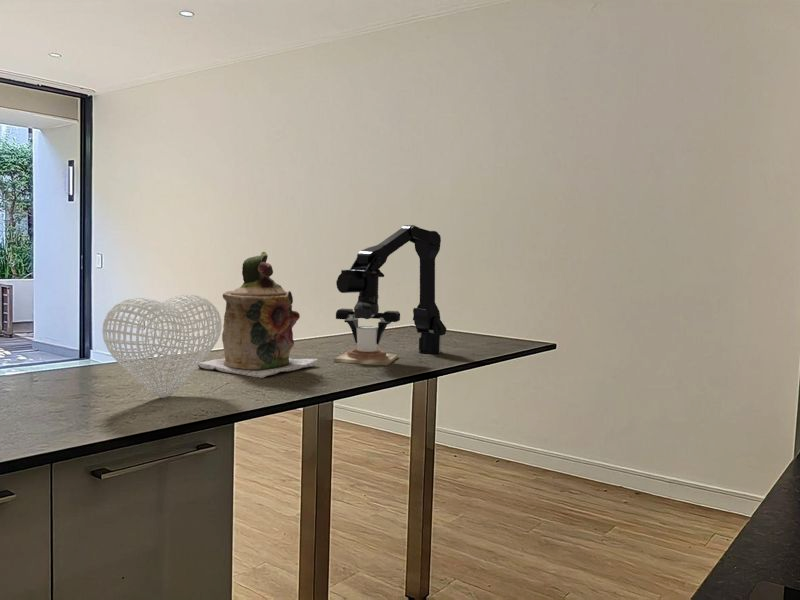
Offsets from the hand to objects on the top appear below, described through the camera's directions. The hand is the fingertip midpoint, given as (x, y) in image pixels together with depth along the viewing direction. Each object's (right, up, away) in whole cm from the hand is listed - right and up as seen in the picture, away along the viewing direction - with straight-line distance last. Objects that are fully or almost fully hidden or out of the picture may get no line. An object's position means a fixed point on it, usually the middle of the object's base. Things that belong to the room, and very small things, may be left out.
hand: (367, 343), depth 215 cm
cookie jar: (-29, -6, -18) cm, 35 cm away
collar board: (0, -5, 0) cm, 5 cm away
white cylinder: (0, -2, 0) cm, 2 cm away
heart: (-42, -8, -59) cm, 73 cm away
